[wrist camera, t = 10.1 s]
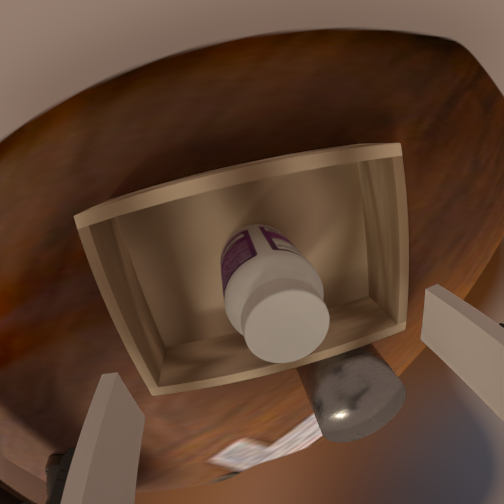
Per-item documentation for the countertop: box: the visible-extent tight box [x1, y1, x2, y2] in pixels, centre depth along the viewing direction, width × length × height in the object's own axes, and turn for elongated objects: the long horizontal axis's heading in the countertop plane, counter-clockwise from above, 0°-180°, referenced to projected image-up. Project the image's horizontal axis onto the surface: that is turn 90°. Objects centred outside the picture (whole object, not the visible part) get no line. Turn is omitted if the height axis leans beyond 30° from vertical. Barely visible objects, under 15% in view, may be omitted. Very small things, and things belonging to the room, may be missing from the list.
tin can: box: [296, 343, 406, 442], centre depth 22 cm, size 7×7×9 cm
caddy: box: [74, 143, 409, 396], centre depth 20 cm, size 20×14×6 cm
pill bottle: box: [220, 224, 330, 363], centre depth 17 cm, size 5×5×10 cm
